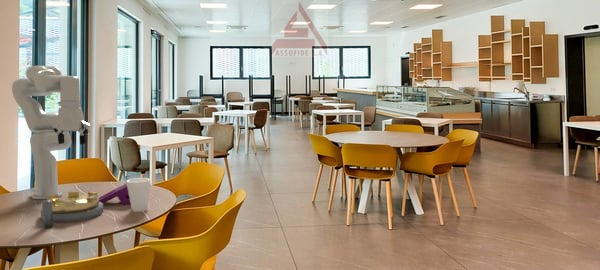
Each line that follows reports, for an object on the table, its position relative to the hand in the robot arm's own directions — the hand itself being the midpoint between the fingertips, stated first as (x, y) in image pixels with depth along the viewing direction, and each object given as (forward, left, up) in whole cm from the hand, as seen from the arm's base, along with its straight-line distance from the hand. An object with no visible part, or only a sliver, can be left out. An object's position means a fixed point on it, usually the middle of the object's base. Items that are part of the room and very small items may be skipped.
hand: (72, 143), depth 195 cm
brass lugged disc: (+9, -11, -25) cm, 29 cm away
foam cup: (+31, +3, -28) cm, 42 cm away
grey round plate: (+9, -11, -28) cm, 32 cm away
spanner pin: (+13, -28, -28) cm, 42 cm away
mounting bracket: (+14, +10, -29) cm, 33 cm away
